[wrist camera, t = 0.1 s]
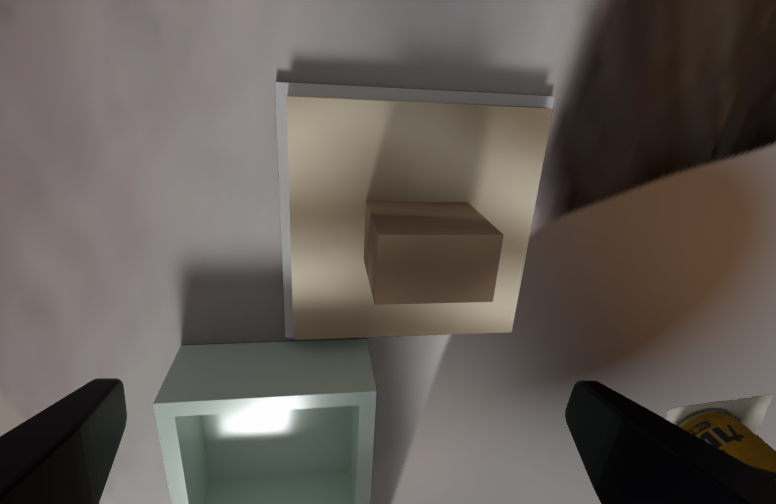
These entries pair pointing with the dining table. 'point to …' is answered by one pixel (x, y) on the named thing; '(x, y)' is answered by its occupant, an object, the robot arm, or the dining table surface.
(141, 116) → the dining table surface
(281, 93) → the mat
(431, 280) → the lid
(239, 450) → the dish
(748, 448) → the condiment
